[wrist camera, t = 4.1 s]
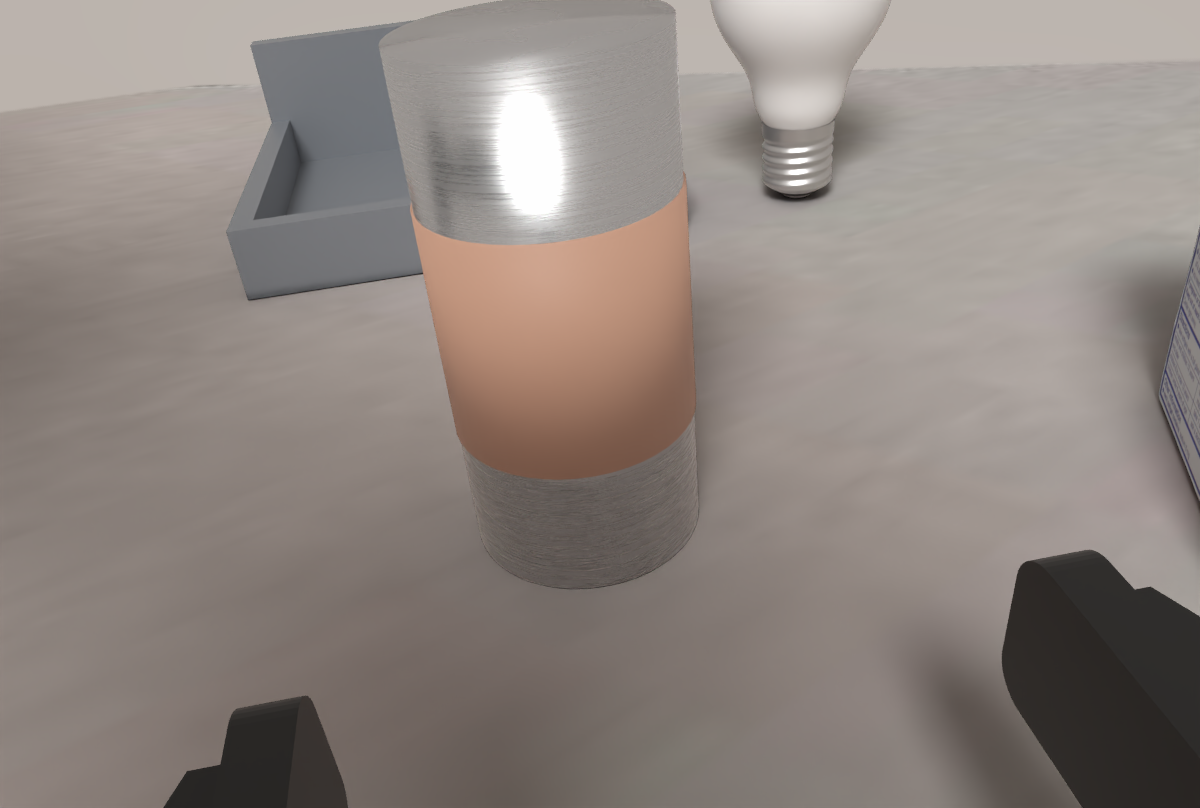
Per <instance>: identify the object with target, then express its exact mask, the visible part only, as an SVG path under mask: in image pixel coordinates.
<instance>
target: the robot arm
mask: <svg viewBox="0 0 1200 808" xmlns="http://www.w3.org/2000/svg"><path fill="white" fill-rule="evenodd" d="M1002 667H1003V673H1004V678H1005V682H1006V685H1007V688H1008V691H1009V693H1010V696H1011V698H1012V700H1013V702H1014V704H1015V706H1016V707H1017V709H1018V711H1019V712H1020V714H1021V715H1022V717H1023V718H1024V720H1025V721H1026V723H1027V724H1028V726H1029V727H1030V729H1031V730H1032V732H1033V733H1034V735H1035V736H1036V738H1037V739H1038V741H1039V742H1040V744H1041V746H1042V747H1043V749H1044V750H1045V752H1046V753H1047V755H1048V756H1049V758H1050V759H1051V761H1052V762H1053V764H1054V765H1055V767H1056V768H1057V770H1058V771H1059V773H1060V774H1061V776H1062V777H1063V779H1064V780H1065V782H1066V783H1067V785H1068V786H1069V788H1070V789H1071V791H1072V792H1073V794H1074V795H1075V797H1076V798H1077V800H1078V801H1079V803H1080V804H1081V806H1082V807H1083V808H1200V617H1199V616H1198V615H1196V614H1195V613H1193V612H1191V611H1190V610H1188V609H1186V608H1185V607H1183V606H1181V605H1180V604H1178V603H1177V602H1175V601H1173V600H1172V599H1170V598H1168V597H1167V596H1165V595H1163V594H1162V593H1160V592H1158V591H1157V590H1155V589H1153V588H1152V587H1146V588H1141V589H1136V590H1134V589H1133V587H1132V586H1131V585H1130V584H1129V583H1128V582H1127V581H1126V580H1125V579H1124V577H1123V576H1122V575H1121V574H1120V573H1119V572H1118V571H1117V570H1116V569H1115V568H1114V566H1113V565H1112V564H1111V563H1110V562H1109V561H1108V560H1107V559H1106V558H1105V557H1104V556H1102V555H1101V554H1100V553H1098V552H1096V551H1093V550H1084V551H1079V552H1074V553H1068V554H1063V555H1058V556H1052V557H1047V558H1042V559H1037V560H1031V561H1027V562H1025V563H1023V564H1022V565H1021V566H1020V568H1019V570H1018V574H1017V578H1016V583H1015V588H1014V594H1013V599H1012V604H1011V609H1010V614H1009V619H1008V624H1007V630H1006V635H1005V640H1004V645H1003V650H1002ZM164 808H348V804H347V797H346V792H345V788H344V784H343V781H342V778H341V775H340V773H339V770H338V767H337V765H336V762H335V759H334V757H333V754H332V752H331V749H330V746H329V744H328V741H327V738H326V736H325V733H324V730H323V728H322V725H321V722H320V720H319V717H318V715H317V712H316V709H315V707H314V704H313V702H312V701H311V699H310V698H309V697H308V696H301V697H296V698H291V699H285V700H280V701H275V702H269V703H264V704H259V705H254V706H248V707H243V708H238V709H236V710H235V711H234V712H233V713H232V715H231V718H230V720H229V724H228V729H227V734H226V739H225V744H224V749H223V755H222V760H221V765H217V766H212V767H207V768H201V769H196V770H191V771H187V772H186V774H185V775H184V777H183V778H182V780H181V781H180V783H179V784H178V786H177V788H176V789H175V791H174V792H173V794H172V795H171V797H170V798H169V800H168V801H167V803H166V804H165V806H164Z"/></svg>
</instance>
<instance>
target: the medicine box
mask: <svg viewBox="0 0 1200 808" xmlns="http://www.w3.org/2000/svg"><path fill="white" fill-rule="evenodd" d="M1159 399H1160V402H1161V404H1162V407H1163V409H1164V412H1165V414H1166V417H1167V419H1168V422H1169V424H1170V427H1171V429H1172V432H1173V434H1174V437H1175V439H1176V442H1177V445H1178V447H1179V450H1180V453H1181V455H1182V458H1183V460H1184V463H1185V465H1186V468H1187V470H1188V473H1189V475H1190V478H1191V480H1192V483H1193V486H1194V489H1195V491H1196V494H1197V496H1198V498H1199V501H1200V227H1199V231H1198V235H1197V239H1196V243H1195V247H1194V252H1193V256H1192V259H1191V262H1190V266H1189V270H1188V274H1187V278H1186V283H1185V287H1184V290H1183V292H1182V296H1181V301H1180V305H1179V309H1178V312H1177V316H1176V319H1175V323H1174V327H1173V332H1172V336H1171V340H1170V344H1169V349H1168V353H1167V357H1166V362H1165V366H1164V370H1163V374H1162V379H1161V384H1160V389H1159Z"/></svg>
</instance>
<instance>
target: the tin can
mask: <svg viewBox="0 0 1200 808" xmlns="http://www.w3.org/2000/svg"><path fill="white" fill-rule="evenodd" d="M379 50H380V55H381V60H382V65H383V70H384V74H385V79H386V84H387V89H388V94H389V98H390V103H391V108H392V113H393V118H394V122H395V127H396V132H397V137H398V142H399V146H400V151H401V156H402V161H403V166H404V170H405V175H406V180H407V185H408V190H409V194H410V199H411V206H410V212H411V217H412V222H413V227H414V231H415V236H416V241H417V246H418V250H419V255H420V260H421V265H422V269H423V274H424V279H425V284H426V289H427V293H428V298H429V303H430V308H431V312H432V317H433V322H434V327H435V331H436V336H437V341H438V346H439V350H440V355H441V360H442V365H443V369H444V374H445V379H446V384H447V388H448V393H449V398H450V403H451V407H452V412H453V417H454V422H455V427H456V431H457V435H458V437H459V439H460V442H461V444H462V449H463V453H464V458H465V463H466V468H467V473H468V477H469V482H470V487H471V492H472V496H473V501H474V506H475V511H476V516H477V520H478V525H479V530H480V535H481V540H482V542H483V544H484V547H485V549H486V550H487V552H488V553H489V555H490V556H491V557H492V558H493V559H494V560H495V561H496V563H497V564H498V565H500V566H501V567H502V568H504V569H505V570H507V571H508V572H510V573H512V574H513V575H515V576H517V577H519V578H522V579H524V580H527V581H529V582H532V583H536V584H540V585H544V586H549V587H556V588H567V589H585V588H597V587H604V586H610V585H614V584H618V583H622V582H625V581H628V580H631V579H634V578H637V577H640V576H642V575H644V574H646V573H648V572H651V571H652V570H654V569H656V568H657V567H659V566H661V565H663V564H664V563H665V562H667V561H668V560H669V559H671V558H672V557H673V556H674V555H675V554H676V553H678V552H679V551H680V550H681V549H682V548H683V546H684V545H685V544H686V542H687V541H688V540H689V539H690V537H691V535H692V533H693V531H694V529H695V526H696V523H697V520H698V513H699V502H698V481H697V459H696V438H695V417H694V413H695V407H696V388H695V366H694V343H693V321H692V299H691V277H690V255H689V233H688V210H687V188H686V176H685V173H684V171H683V159H682V138H681V117H680V95H679V74H678V52H677V32H676V13H675V9H674V8H673V7H672V6H671V5H669V4H668V3H666V2H663V1H660V0H503V1H496V2H490V3H484V4H478V5H473V6H468V7H463V8H459V9H455V10H450V11H446V12H442V13H439V14H435V15H431V16H428V17H425V18H422V19H419V20H416V21H413V22H410V23H408V24H405V25H403V26H401V27H399V28H397V29H395V30H393V31H391V32H390V33H388V34H387V35H385V36H384V37H383V38H382V39H381V40H380V42H379Z"/></svg>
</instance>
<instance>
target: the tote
mask: <svg viewBox="0 0 1200 808" xmlns="http://www.w3.org/2000/svg"><path fill="white" fill-rule="evenodd" d="M415 21H416V20H415ZM410 22H413V21H407V22H399V23H392V24H384V25H376V26H369V27H362V28H353V29H346V30H338V31H331V32H323V33H315V34H308V35H300V36H292V37H285V38H277V39H269V40H262V41H255V42H252V44H251V49H252V53H253V56H254V60H255V64H256V67H257V71H258V74H259V78H260V82H261V85H262V89H263V93H264V96H265V100H266V103H267V107H268V110H269V114H270V118H271V121H272V124H271V126H270V129H269V131H268V133H267V136H266V138H265V141H264V143H263V145H262V148H261V150H260V153H259V155H258V157H257V160H256V162H255V164H254V167H253V169H252V172H251V174H250V176H249V179H248V181H247V184H246V186H245V188H244V191H243V193H242V196H241V198H240V200H239V203H238V205H237V208H236V210H235V212H234V215H233V217H232V220H231V222H230V224H229V227H228V229H227V232H226V233H227V236H228V239H229V242H230V245H231V248H232V252H233V255H234V258H235V261H236V264H237V267H238V270H239V273H240V276H241V279H242V282H243V285H244V289H245V292H246V295H247V298H248V300H251V299H258V298H264V297H271V296H277V295H284V294H290V293H297V292H303V291H310V290H316V289H323V288H329V287H336V286H342V285H349V284H355V283H362V282H368V281H375V280H381V279H388V278H394V277H400V276H407V275H413V274H420V273H423V269H422V265H421V260H420V255H419V250H418V246H417V241H416V236H415V231H414V227H413V222H412V217H411V212H410V206H411V199H410V194H409V190H408V185H407V180H406V175H405V170H404V166H403V161H402V156H401V151H400V146H399V142H398V137H397V132H396V127H395V122H394V118H393V113H392V108H391V103H390V98H389V94H388V89H387V84H386V79H385V74H384V70H383V65H382V60H381V55H380V50H379V42H380V40H381V39H382V38H383V37H384V36H385V35H387V34H388V33H390V32H391V31H393V30H395V29H397V28H399V27H401V26H403V25H405V24H408V23H410Z"/></svg>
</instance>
